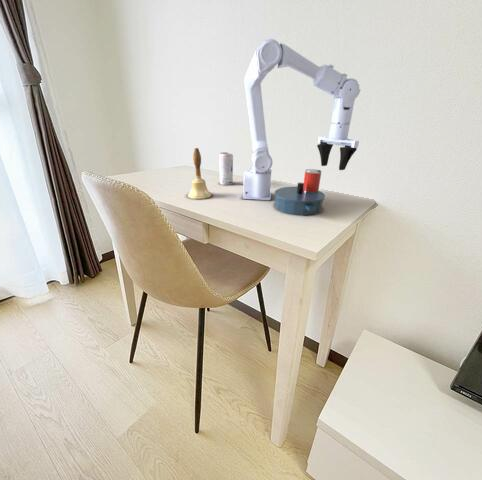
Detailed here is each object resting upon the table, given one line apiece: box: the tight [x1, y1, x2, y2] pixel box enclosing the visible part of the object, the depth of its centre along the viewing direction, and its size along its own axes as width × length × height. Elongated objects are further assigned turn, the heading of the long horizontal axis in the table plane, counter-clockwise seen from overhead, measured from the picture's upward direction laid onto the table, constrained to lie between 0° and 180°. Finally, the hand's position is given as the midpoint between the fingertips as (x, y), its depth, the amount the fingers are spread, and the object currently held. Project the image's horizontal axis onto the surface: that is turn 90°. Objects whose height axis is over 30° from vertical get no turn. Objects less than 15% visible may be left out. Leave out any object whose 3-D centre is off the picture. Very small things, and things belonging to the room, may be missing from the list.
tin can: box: [303, 168, 322, 193], centre depth 81 cm, size 5×5×6 cm
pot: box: [274, 195, 324, 216], centre depth 81 cm, size 14×20×4 cm
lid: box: [274, 182, 326, 203], centre depth 80 cm, size 15×15×4 cm
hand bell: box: [187, 147, 212, 200], centre depth 88 cm, size 8×8×16 cm
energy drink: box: [218, 151, 234, 186], centre depth 104 cm, size 5×5×12 cm
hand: (332, 167), depth 87 cm, fingers open, 7 cm apart
